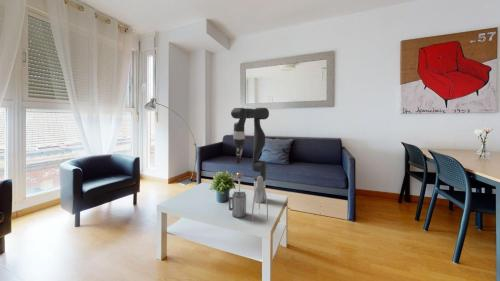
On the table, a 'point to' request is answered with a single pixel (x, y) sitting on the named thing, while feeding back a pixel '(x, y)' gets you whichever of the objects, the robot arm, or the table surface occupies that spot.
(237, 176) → the plunger
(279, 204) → the table surface
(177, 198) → the table surface
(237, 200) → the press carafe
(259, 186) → the juicer
